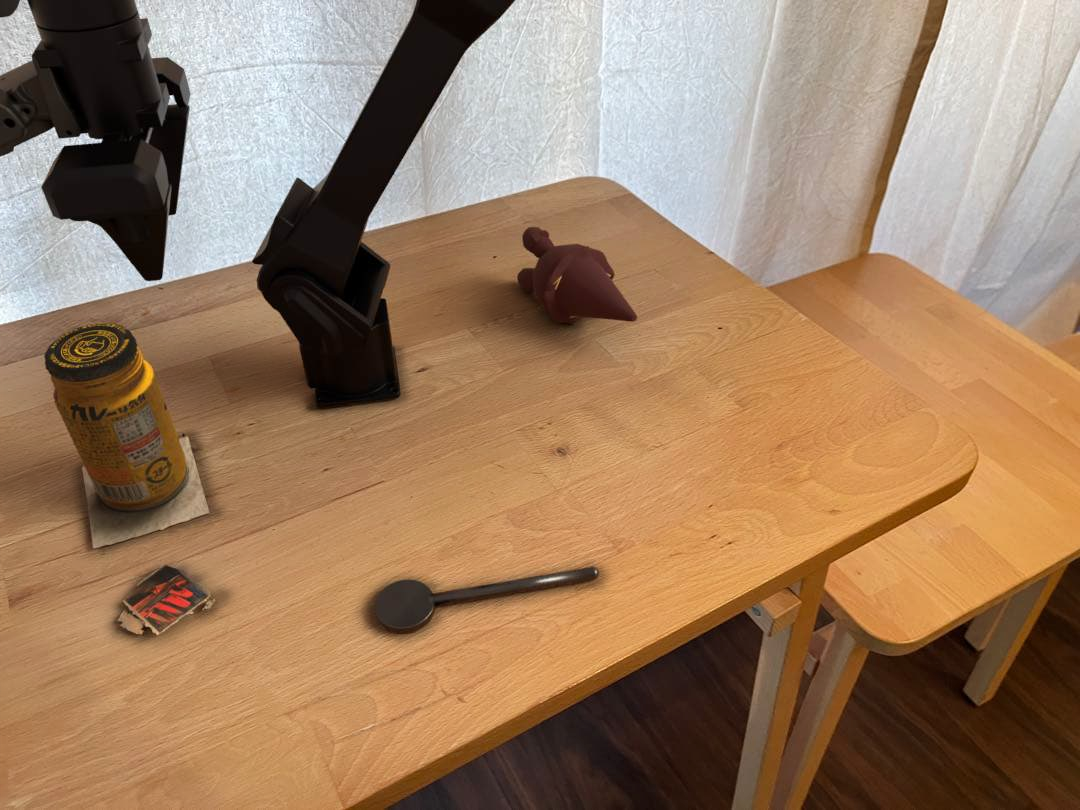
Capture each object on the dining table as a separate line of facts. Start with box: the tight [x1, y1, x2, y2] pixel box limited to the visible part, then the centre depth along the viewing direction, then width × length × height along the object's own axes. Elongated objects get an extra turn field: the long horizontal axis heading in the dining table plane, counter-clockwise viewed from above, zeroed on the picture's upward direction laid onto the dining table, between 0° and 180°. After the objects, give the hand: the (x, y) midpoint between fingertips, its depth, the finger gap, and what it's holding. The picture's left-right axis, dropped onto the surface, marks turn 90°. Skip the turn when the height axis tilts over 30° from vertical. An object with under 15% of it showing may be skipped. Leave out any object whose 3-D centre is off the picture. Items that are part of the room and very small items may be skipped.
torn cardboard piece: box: [117, 563, 220, 636], centre depth 53 cm, size 5×5×1 cm
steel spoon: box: [374, 566, 600, 635], centre depth 54 cm, size 14×4×1 cm, turn 102°
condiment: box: [43, 322, 210, 549], centre depth 57 cm, size 7×8×12 cm
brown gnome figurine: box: [516, 226, 638, 325], centre depth 75 cm, size 7×7×15 cm
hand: (161, 245), depth 63 cm, fingers open, 9 cm apart
